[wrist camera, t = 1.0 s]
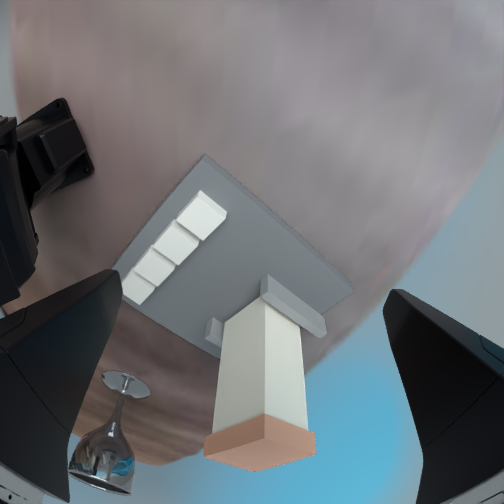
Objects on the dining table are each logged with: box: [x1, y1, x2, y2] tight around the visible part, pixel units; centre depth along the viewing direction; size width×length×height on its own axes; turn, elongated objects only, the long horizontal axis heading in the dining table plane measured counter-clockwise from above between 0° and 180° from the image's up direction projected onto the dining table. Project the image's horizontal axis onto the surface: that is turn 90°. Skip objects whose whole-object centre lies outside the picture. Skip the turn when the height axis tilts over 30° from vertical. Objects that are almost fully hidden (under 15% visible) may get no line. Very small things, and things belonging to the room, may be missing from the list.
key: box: [203, 297, 316, 472], centre depth 23 cm, size 5×6×12 cm
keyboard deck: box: [111, 154, 354, 359], centre depth 26 cm, size 16×15×3 cm
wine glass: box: [68, 371, 151, 496], centre depth 33 cm, size 8×8×15 cm
